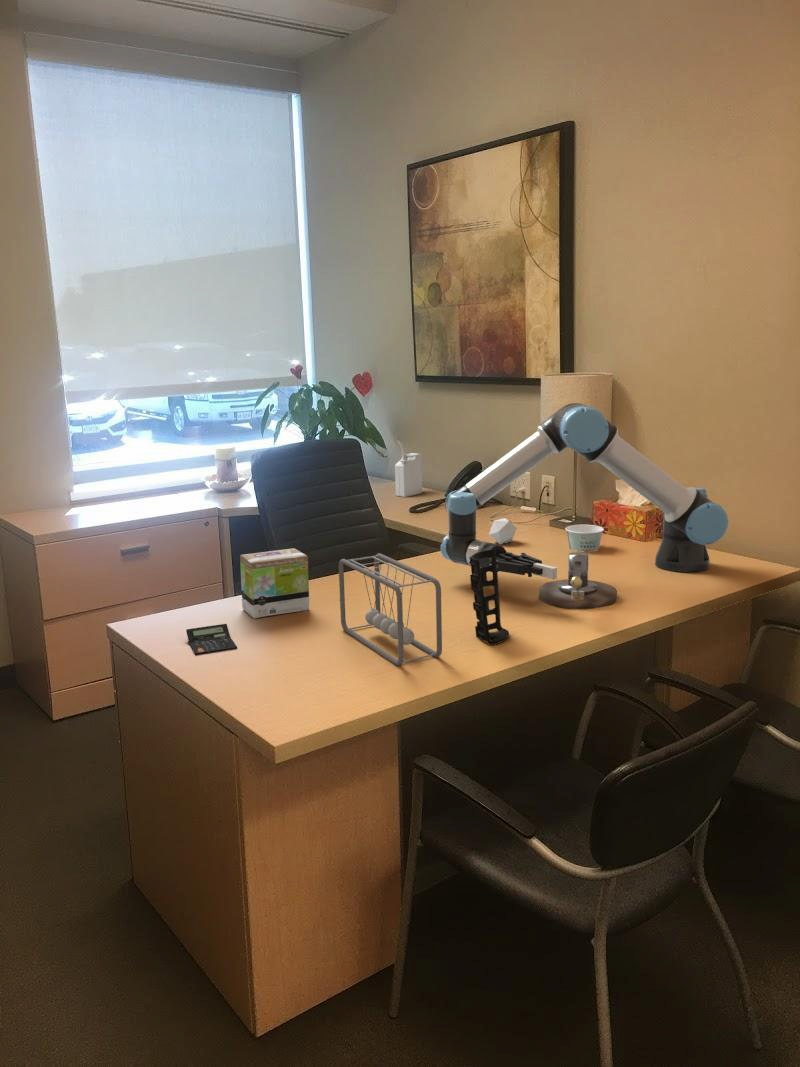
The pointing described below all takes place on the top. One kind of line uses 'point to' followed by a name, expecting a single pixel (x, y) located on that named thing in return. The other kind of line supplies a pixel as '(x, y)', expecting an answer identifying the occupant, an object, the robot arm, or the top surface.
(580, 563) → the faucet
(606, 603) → the dial base
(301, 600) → the tea box
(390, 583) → the newton's cradle
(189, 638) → the calculator
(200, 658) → the top surface
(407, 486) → the gas can
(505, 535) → the die
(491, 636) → the holder
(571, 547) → the food container
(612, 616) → the top surface
